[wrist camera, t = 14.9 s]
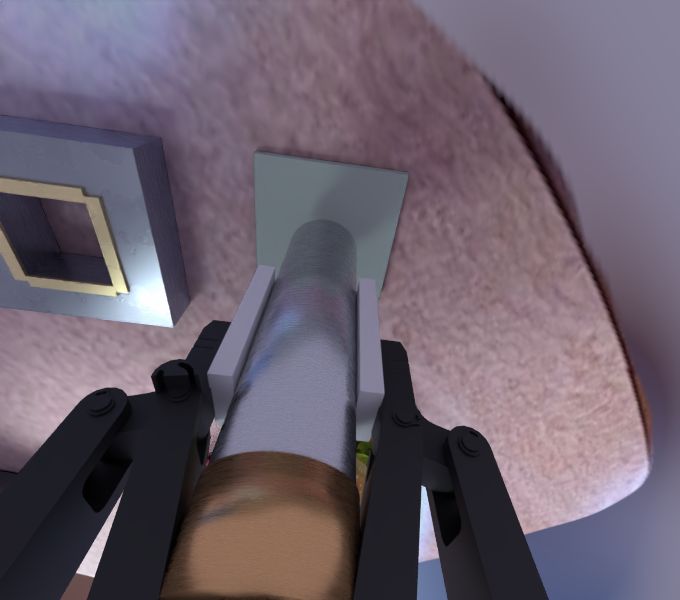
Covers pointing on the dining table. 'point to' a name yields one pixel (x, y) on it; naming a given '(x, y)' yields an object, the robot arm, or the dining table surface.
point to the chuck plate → (107, 218)
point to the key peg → (284, 446)
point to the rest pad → (327, 207)
